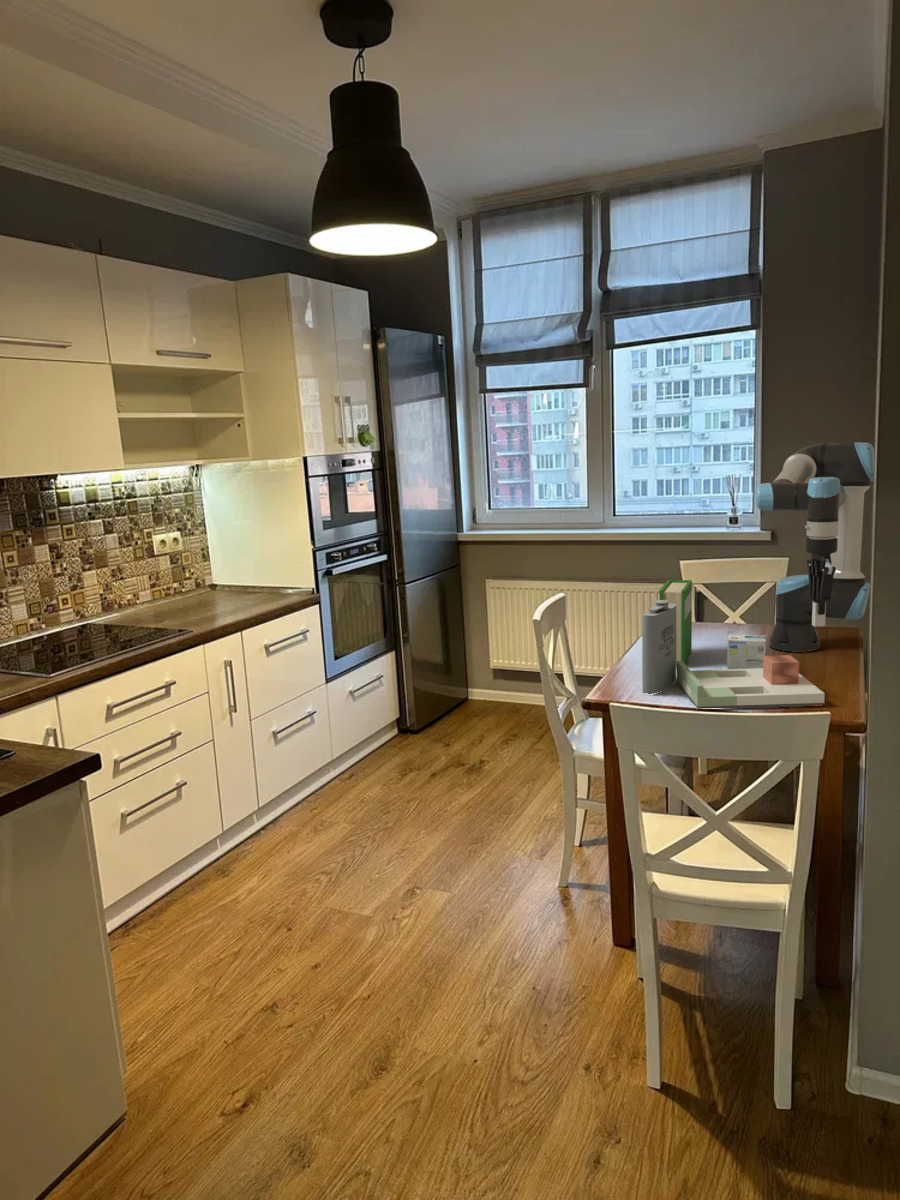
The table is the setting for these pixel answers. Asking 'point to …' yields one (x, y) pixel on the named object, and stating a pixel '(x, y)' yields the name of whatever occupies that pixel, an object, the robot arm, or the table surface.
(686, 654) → the hardback book
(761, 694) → the box
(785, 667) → the block
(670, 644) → the flask
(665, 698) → the table surface
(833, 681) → the table surface
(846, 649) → the table surface
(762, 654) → the light bulb box
